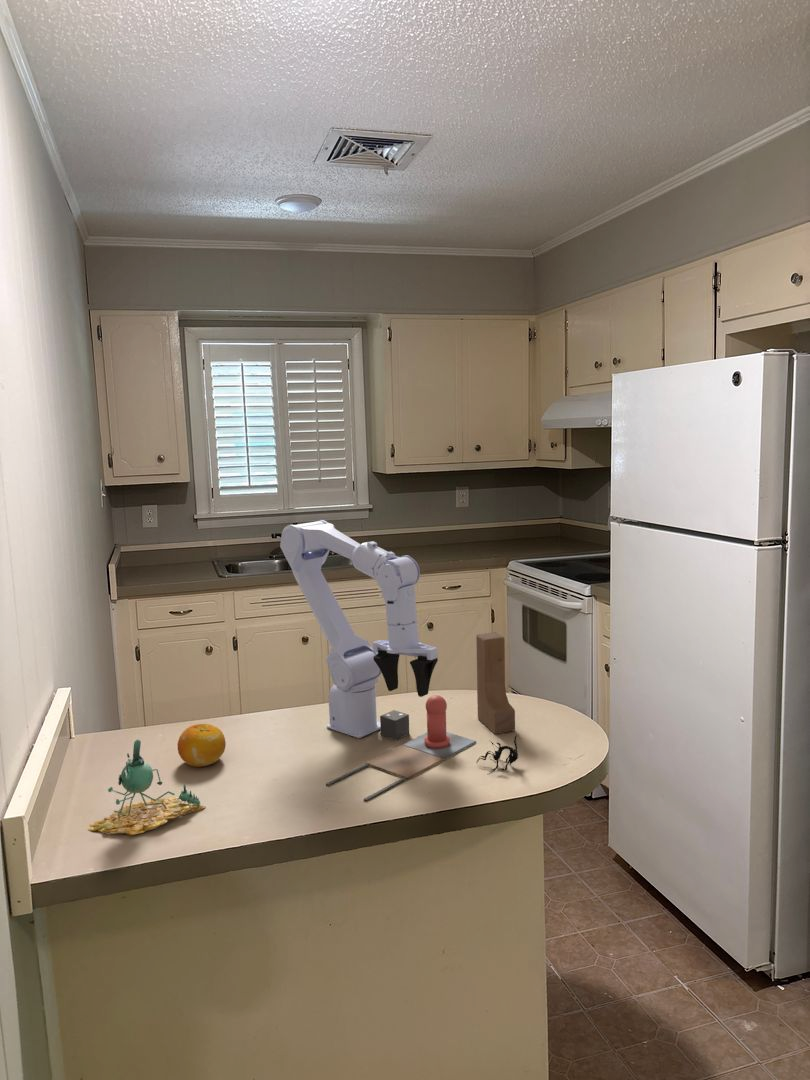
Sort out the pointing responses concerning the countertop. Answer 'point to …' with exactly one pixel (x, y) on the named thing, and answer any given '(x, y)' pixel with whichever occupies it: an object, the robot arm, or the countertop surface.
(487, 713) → the wooden block
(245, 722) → the countertop surface
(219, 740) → the fruit
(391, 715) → the die
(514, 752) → the creature
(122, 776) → the teal figurine on bark
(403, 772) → the board
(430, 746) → the pawn
